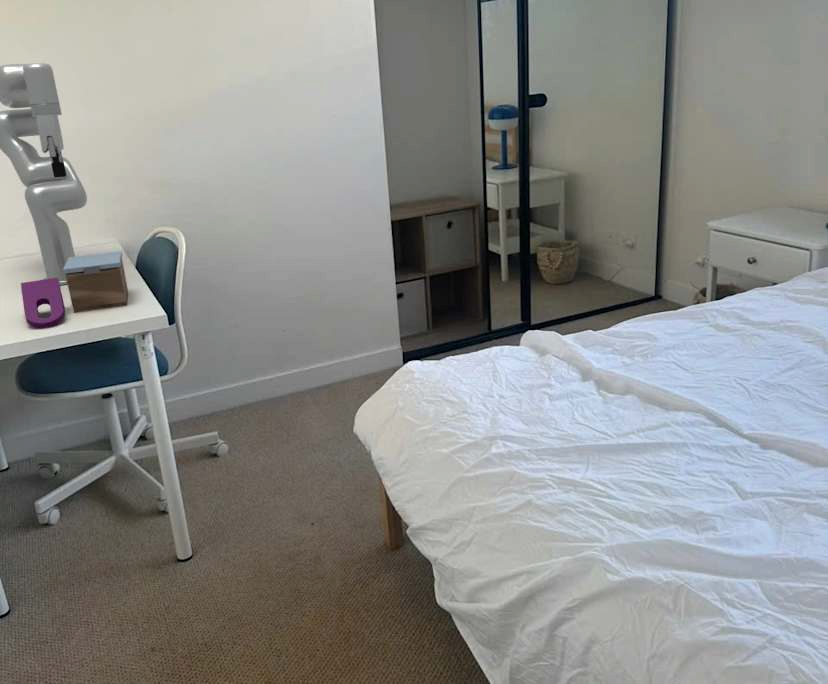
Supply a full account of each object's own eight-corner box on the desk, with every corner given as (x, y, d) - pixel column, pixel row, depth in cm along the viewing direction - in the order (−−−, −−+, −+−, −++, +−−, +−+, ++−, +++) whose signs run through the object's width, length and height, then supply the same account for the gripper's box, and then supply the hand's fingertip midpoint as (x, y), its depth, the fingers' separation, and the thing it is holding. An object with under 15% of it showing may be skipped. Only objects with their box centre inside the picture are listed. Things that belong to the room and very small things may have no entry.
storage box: (78, 297, 221) (71, 262, 217) (128, 291, 225) (121, 256, 221) (73, 312, 207) (65, 274, 203) (126, 305, 211) (119, 268, 207)
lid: (70, 263, 218) (68, 257, 217) (122, 257, 222) (121, 251, 221) (64, 277, 202) (62, 270, 201) (120, 270, 206) (119, 263, 206)
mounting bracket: (70, 342, 202) (63, 300, 213) (65, 319, 196) (57, 277, 207) (32, 348, 198) (27, 305, 209) (25, 325, 193) (20, 282, 204)
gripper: (35, 110, 213) (49, 175, 220) (27, 112, 200) (43, 181, 206) (63, 108, 215) (76, 172, 222) (57, 110, 202) (72, 178, 208)
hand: (60, 176), depth 214 cm, fingers closed
